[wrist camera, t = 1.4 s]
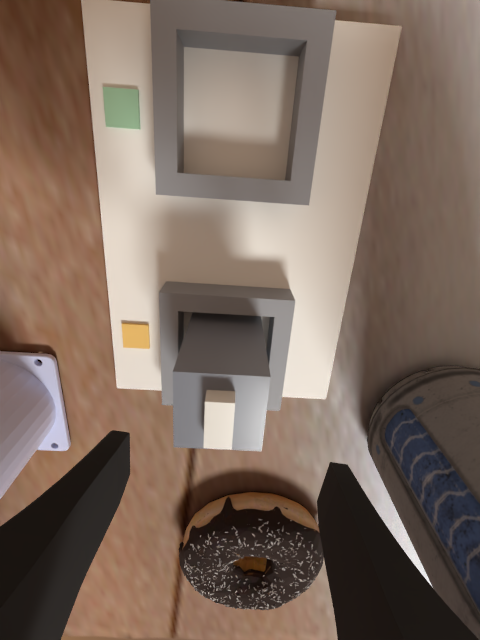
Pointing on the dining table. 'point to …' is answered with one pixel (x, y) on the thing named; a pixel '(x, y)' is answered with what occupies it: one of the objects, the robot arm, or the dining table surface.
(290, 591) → the donut
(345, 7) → the dining table surface
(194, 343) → the plug
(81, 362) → the dining table surface
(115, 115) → the panel
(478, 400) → the beverage bottle
